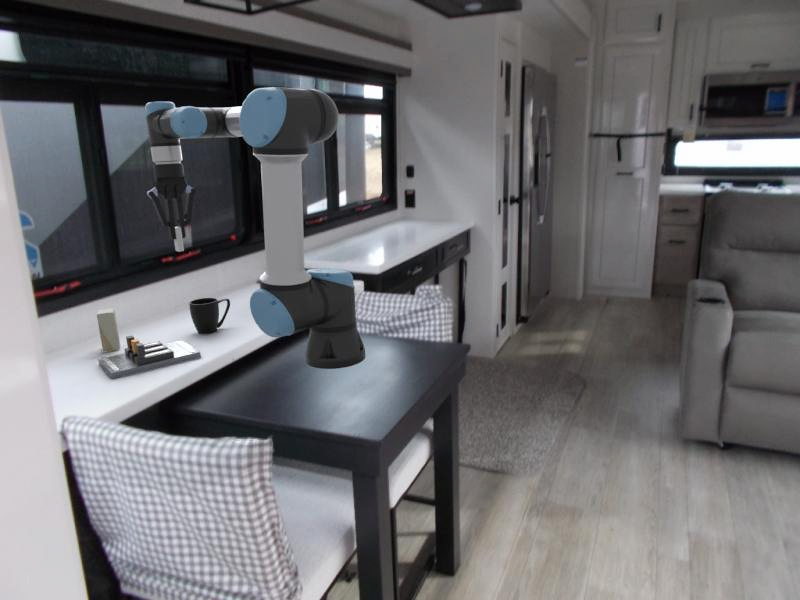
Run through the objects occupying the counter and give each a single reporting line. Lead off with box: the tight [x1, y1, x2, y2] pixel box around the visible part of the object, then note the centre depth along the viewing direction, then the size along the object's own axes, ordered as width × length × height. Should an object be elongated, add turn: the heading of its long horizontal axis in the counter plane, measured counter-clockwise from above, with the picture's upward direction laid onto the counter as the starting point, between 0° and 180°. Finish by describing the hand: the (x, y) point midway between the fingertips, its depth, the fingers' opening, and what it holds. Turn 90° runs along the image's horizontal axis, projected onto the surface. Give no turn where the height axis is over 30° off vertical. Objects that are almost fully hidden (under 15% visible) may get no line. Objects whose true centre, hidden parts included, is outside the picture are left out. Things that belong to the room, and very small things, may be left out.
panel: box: [97, 335, 202, 380], centre depth 162 cm, size 14×22×6 cm, turn 128°
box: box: [96, 308, 121, 353], centre depth 173 cm, size 5×4×11 cm
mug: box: [188, 297, 231, 335], centre depth 186 cm, size 8×12×10 cm
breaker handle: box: [131, 338, 140, 353], centre depth 160 cm, size 2×2×3 cm
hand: (179, 250), depth 170 cm, fingers closed
